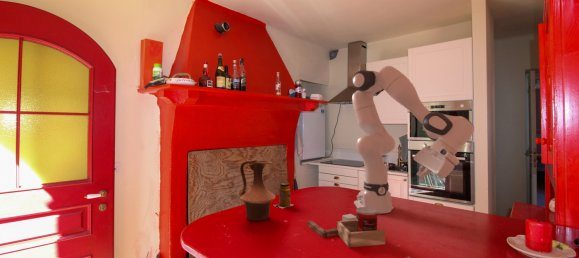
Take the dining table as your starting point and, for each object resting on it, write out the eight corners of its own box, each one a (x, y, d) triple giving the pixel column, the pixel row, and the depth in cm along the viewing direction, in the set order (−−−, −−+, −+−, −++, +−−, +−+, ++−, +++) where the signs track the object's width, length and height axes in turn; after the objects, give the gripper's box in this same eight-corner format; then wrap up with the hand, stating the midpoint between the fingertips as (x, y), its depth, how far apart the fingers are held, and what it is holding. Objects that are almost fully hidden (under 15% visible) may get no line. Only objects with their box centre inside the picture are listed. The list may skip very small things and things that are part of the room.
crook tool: (307, 225, 122) (307, 221, 122) (321, 223, 125) (321, 219, 125) (322, 237, 109) (322, 232, 109) (338, 235, 112) (338, 230, 112)
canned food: (363, 232, 114) (363, 205, 113) (381, 238, 107) (381, 210, 107) (352, 237, 109) (352, 209, 108) (370, 244, 103) (369, 214, 102)
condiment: (293, 205, 153) (293, 183, 152) (282, 208, 147) (282, 186, 146) (284, 202, 158) (284, 181, 158) (273, 206, 152) (273, 184, 152)
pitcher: (236, 224, 124) (235, 162, 124) (241, 212, 141) (240, 157, 141) (275, 223, 125) (274, 161, 124) (276, 211, 142) (275, 157, 141)
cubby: (337, 233, 113) (336, 221, 113) (369, 230, 115) (369, 218, 115) (348, 247, 100) (348, 233, 100) (385, 244, 102) (384, 230, 102)
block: (342, 225, 122) (342, 215, 122) (350, 223, 124) (350, 213, 123) (348, 229, 118) (348, 218, 118) (357, 227, 119) (357, 216, 119)
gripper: (423, 140, 125) (402, 164, 127) (451, 154, 105) (426, 182, 107) (433, 148, 126) (412, 171, 128) (462, 164, 106) (437, 191, 108)
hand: (418, 176), depth 117 cm, fingers closed
